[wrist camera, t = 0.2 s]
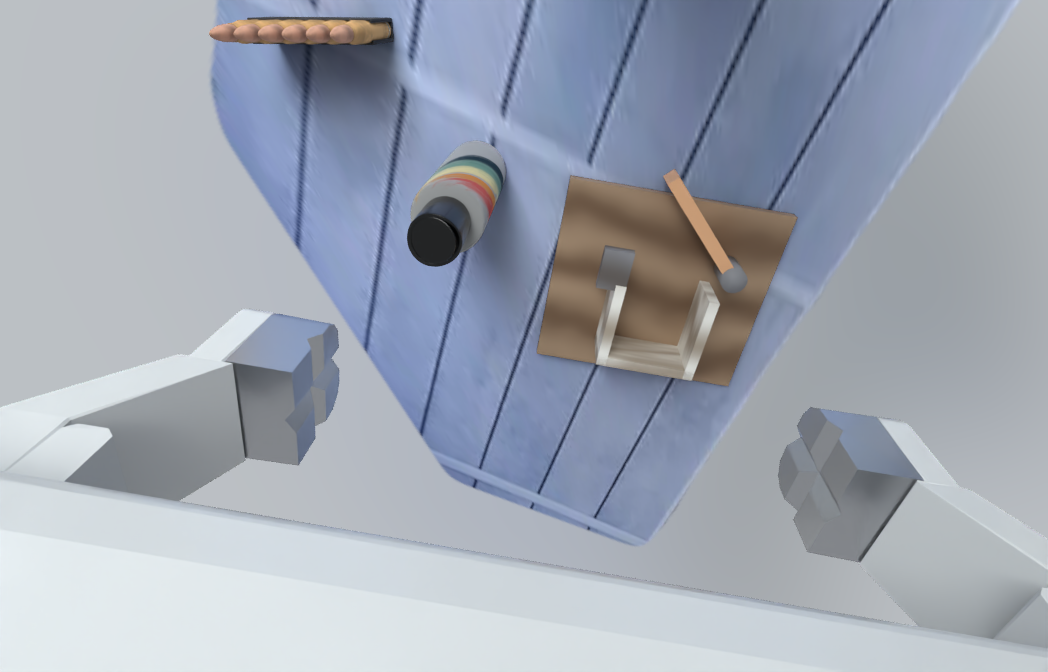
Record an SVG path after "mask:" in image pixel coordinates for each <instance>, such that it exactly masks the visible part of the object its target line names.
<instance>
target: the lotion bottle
mask: <svg viewBox="0 0 1048 672" xmlns="http://www.w3.org/2000/svg"><path fill="white" fill-rule="evenodd" d="M505 175H506V168H505V163H504V160H503V158H502V156H501V155H500V153H499V152H498V151H497V150H496V149H495V148H494V147H493V146H491V145H490V144H488V143H485V142H482V141H469V142H466V143H464V144H462V145H460V146H459V147H457V148H456V149H455V150H454V151H453V152H452V153H451V154H450V156H449V157H448V158H447V159H446V160H445V161H444V162H443V164H442V165H441V166H440V167H439V168H438V169H437V171H436V172H435V173H434V174H433V175H432V176H431V178H430V179H429V180H428V181H427V182H426V183H425V185H424V186H423V187H422V188H421V189H420V191H419V192H418V193H417V195H416V196H415V198H414V200H413V203H412V207H411V222H412V223H411V224H410V226H409V229H408V234H407V241H408V246H409V249H410V251H411V253H412V255H413V256H414V257H415V258H416V259H417V260H418V261H419V262H421V263H423V264H425V265H428V266H435V267H436V266H443V265H446V264H448V263H450V262H452V261H453V260H454V259H455V258H456V257H457V256H458V255H459V253H461V252H464V251H466V250H468V249H470V248H471V247H473V246H474V245H475V244H476V243H477V242H478V241H479V239H480V238H481V236H482V234H483V232H484V230H485V228H486V225H487V223H488V220H489V218H490V216H491V213H492V211H493V208H494V206H495V204H496V201H497V199H498V196H499V194H500V192H501V189H502V187H503V184H504V181H505Z"/></svg>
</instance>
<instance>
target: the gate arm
mask: <svg viewBox="0 0 1048 672" xmlns="http://www.w3.org/2000/svg"><path fill="white" fill-rule="evenodd" d="M663 177H664V179H665V181H666V183H667V185H668V186H669V188H670V190H671V191H672V193H673V194H674V196H675V198H676V199H677V201H678V203H679V204H680V206H681V208H682V209H683V211H684V213H685V214H686V216H687V217H688V219H689V221H690V222H691V224H692V226H693V227H694V229H695V231H696V232H697V234H698V235H699V237H700V239H701V240H702V242H703V244H704V245H705V247H706V249H707V250H708V252H709V254H710V255H711V257H712V258H713V260H714V262H715V265H714V272H715V274H716V276H717V278H718V280H719V282H720V284H721V286H722V288H723V289H724V290H725V291H726V292H728V293H737V292H740V291H741V290H743V289H744V288H745V286H746V285H747V281H748V279H747V275H746V274H745V272H744V271H743V269H742V268H741V266H740V264H739V263H738V261H737V260H736V259H735V258H734V257H731V256H727V255H726V254H725V252H724V250H723V249H722V247H721V245H720V244H719V242H718V240H717V238H716V237H715V235H714V233H713V232H712V230H711V228H710V227H709V225H708V223H707V222H706V220H705V218H704V217H703V215H702V213H701V212H700V210H699V208H698V207H697V205H696V203H695V202H694V200H693V198H692V197H691V195H690V193H689V192H688V190H687V188H686V187H685V185H684V183H683V182H682V180H681V178H680V177H679V175H678V173H677V172H676V170H675V169H673V170H672V171H670V172H669V173H667V174H666V175H664V176H663Z"/></svg>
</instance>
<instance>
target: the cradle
mask: <svg viewBox="0 0 1048 672" xmlns="http://www.w3.org/2000/svg"><path fill="white" fill-rule="evenodd" d="M691 197H692V196H691ZM692 198H693V200H694V202H695V203H696V205H697V207H698V208H699V210H700V212H701V213H702V215H703V217H704V218H705V220H706V222H707V223H708V225H709V227H710V228H711V230H712V232H713V233H714V235H715V237H716V238H717V240H718V242H719V244H720V245H721V247H722V249H723V250H724V252H725V254H726V255H727V256H731V257H734V258H735V259H736V260H737V261H738V263H739V264H740V266H741V268H742V269H743V271H744V272H745V274H746V275H747V279H748V281H747V285H746V286H745V288H744V289H743V290H741V291H740V292H737V293H728V292H726V291H725V290H724V289H723V288H722V286H721V284H720V282H719V280H718V278H717V276H716V274H715V272H714V265H715V262H714V260H713V258H712V257H711V255H710V254H709V252H708V250H707V249H706V247H705V245H704V244H703V242H702V240H701V239H700V237H699V235H698V234H697V232H696V231H695V229H694V227H693V226H692V224H691V222H690V221H689V219H688V217H687V216H686V214H685V213H684V211H683V209H682V208H681V206H680V204H679V203H678V201H677V199H676V198H675V196H674V194H673V193H669V192H663V191H658V190H652V189H646V188H640V187H635V186H629V185H623V184H617V183H612V182H606V181H600V180H594V179H589V178H583V177H577V176H570V181H569V186H568V191H567V196H566V202H565V207H564V212H563V217H562V222H561V228H560V233H559V238H558V243H557V248H556V254H555V259H554V264H553V269H552V274H551V279H550V285H549V290H548V295H547V300H546V305H545V311H544V316H543V321H542V326H541V331H540V337H539V342H538V347H537V354H543V355H549V356H555V357H561V358H567V359H572V360H578V361H584V362H590V363H596V365H602V366H608V367H613V368H619V369H625V370H631V371H637V372H643V373H648V374H654V375H660V376H666V377H672V378H678V379H683V380H689V381H692V380H695V381H700V382H706V383H712V384H718V385H724V386H728V385H729V382H730V380H731V378H732V375H733V373H734V370H735V368H736V365H737V363H738V361H739V358H740V356H741V353H742V351H743V348H744V346H745V344H746V341H747V339H748V336H749V334H750V332H751V329H752V327H753V324H754V322H755V319H756V317H757V315H758V312H759V310H760V307H761V305H762V302H763V300H764V298H765V295H766V293H767V290H768V288H769V286H770V283H771V281H772V278H773V276H774V273H775V271H776V269H777V266H778V264H779V261H780V259H781V256H782V254H783V252H784V249H785V247H786V244H787V242H788V240H789V237H790V235H791V232H792V230H793V227H794V225H795V223H796V220H797V218H798V217H796V216H795V215H794V214H790V213H784V212H778V211H772V210H767V209H761V208H755V207H749V206H744V205H738V204H732V203H726V202H721V201H715V200H709V199H704V198H698V197H692Z"/></svg>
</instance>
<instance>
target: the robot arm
mask: <svg viewBox="0 0 1048 672" xmlns="http://www.w3.org/2000/svg"><path fill="white" fill-rule="evenodd" d="M338 348H339V344H338V330H337V328H336V327H335V325H334V324H329V323H324V322H319V321H313V320H308V319H303V318H298V317H293V316H287V315H282V314H275V313H273V312H266V311H260V310H253V309H242V310H240V311H239V312H238V313H237V314H236V315H235V316H233V317H232V318H231V319H230V320H229V321H228V322H227V323H226V324H224V325H223V326H222V327H221V328H220V329H219V330H218V331H216V332H215V333H214V334H213V335H212V336H211V337H210V338H208V339H207V340H206V341H205V342H204V343H203V344H202V345H201V346H199V347H198V348H197V349H196V350H195V351H194V352H193V353H191V354H190V355H189V356H187V355H181V354H178V355H174V356H171V357H168V358H164V359H161V360H158V361H154V362H151V363H148V364H144V365H141V366H137V367H135V368H131V369H128V370H124V371H121V372H118V373H114V374H111V375H107V376H104V377H100V378H97V379H94V380H90V381H87V382H84V383H80V384H77V385H73V386H70V387H67V388H64V389H60V390H57V391H53V392H50V393H47V394H43V395H40V396H36V397H33V398H30V399H27V400H23V401H20V402H17V403H13V404H10V405H6V406H3V407H0V672H1048V539H1047V538H1046V537H1044V536H1043V535H1041V534H1040V533H1038V532H1036V531H1035V530H1033V529H1032V528H1030V527H1028V526H1027V525H1025V524H1024V523H1022V522H1020V521H1019V520H1017V519H1016V518H1014V517H1013V516H1010V515H1009V514H1008V513H1006V512H1004V511H1003V510H1002V509H1000V508H998V507H997V506H995V505H994V504H992V503H990V502H989V501H987V500H986V499H984V498H982V497H981V496H979V495H978V494H976V493H974V492H973V491H972V490H970V489H965V488H960V487H959V486H958V484H957V483H956V482H955V481H954V480H953V478H952V477H951V476H950V475H949V473H948V472H947V471H946V470H945V468H944V467H943V466H942V465H941V464H940V462H939V461H938V460H937V459H936V457H935V456H934V455H933V454H932V453H931V451H930V450H929V449H928V448H927V446H926V445H925V444H924V443H923V441H922V440H921V439H920V438H919V437H918V435H917V434H916V433H915V432H914V430H913V429H912V428H911V427H910V425H908V424H907V423H905V422H903V421H901V420H897V419H890V418H882V417H874V416H866V415H860V414H853V413H845V412H839V411H832V410H825V409H819V408H812V407H811V408H809V409H808V410H807V411H806V412H805V413H804V414H803V415H802V417H801V419H800V421H799V423H798V425H797V427H798V430H799V433H800V436H801V437H800V438H799V439H797V440H795V441H794V442H792V443H790V444H789V445H787V447H786V449H785V451H784V453H783V456H782V458H781V460H780V466H779V474H778V477H779V484H780V489H781V491H782V494H783V496H784V499H785V500H786V501H787V502H788V503H790V504H791V505H792V506H793V507H794V508H795V509H796V510H798V512H797V514H796V516H795V517H794V522H795V524H796V527H797V529H798V531H799V534H800V536H801V538H802V540H803V543H804V545H805V547H806V550H807V552H810V553H815V554H820V555H825V556H830V557H836V558H841V559H846V560H851V561H855V562H860V564H859V565H860V566H861V567H862V568H863V569H864V570H865V571H866V572H867V573H868V575H869V576H870V577H872V579H873V580H875V582H876V583H877V584H878V585H879V586H880V587H881V588H882V589H883V590H884V591H885V592H886V593H887V594H888V595H889V596H890V597H891V598H892V599H893V600H894V601H895V602H896V603H897V605H898V606H899V607H901V609H902V610H903V611H904V612H905V613H906V614H907V615H908V616H909V617H910V618H911V619H912V620H913V621H914V622H915V623H916V624H917V625H918V626H919V627H918V626H912V625H906V624H900V623H894V622H888V621H882V620H877V619H870V618H865V617H859V616H853V615H847V614H841V613H836V612H829V611H824V610H817V609H812V608H806V607H800V606H794V605H788V604H783V603H776V602H771V601H765V600H759V599H753V598H747V597H742V596H736V595H729V594H724V593H718V592H712V591H706V590H700V589H695V588H689V587H683V586H676V585H671V584H665V583H659V582H653V581H647V580H641V579H635V578H629V577H623V576H617V575H611V574H605V573H600V572H593V571H588V570H582V569H576V568H569V567H563V566H558V565H551V564H546V563H540V562H534V561H528V560H522V559H516V558H509V557H504V556H498V555H493V554H486V553H481V552H475V551H469V550H463V549H457V548H451V547H445V546H439V545H434V544H428V543H422V542H416V541H410V540H404V539H398V538H392V537H386V536H381V535H375V534H368V533H363V532H357V531H351V530H345V529H339V528H333V527H327V526H322V525H316V524H310V523H304V522H298V521H292V520H286V519H281V518H275V517H269V516H262V515H256V514H251V513H245V512H239V511H233V510H228V509H221V508H216V507H210V506H204V505H198V504H192V503H186V502H180V500H181V499H183V498H185V497H186V496H188V495H189V494H191V493H193V492H194V491H196V490H198V489H199V488H201V487H203V486H204V485H206V484H208V483H209V482H211V481H212V480H214V479H216V478H217V477H219V476H221V475H222V474H224V473H226V472H227V471H229V470H231V469H232V468H234V467H236V466H237V465H239V464H240V463H242V462H244V461H245V458H250V459H257V460H264V461H271V462H278V463H285V464H292V465H299V464H300V462H301V461H302V459H303V457H304V456H305V454H306V452H307V451H308V449H309V447H310V446H311V444H312V443H313V441H314V440H315V426H316V425H318V424H320V423H323V422H325V421H326V420H327V418H328V417H329V415H330V413H331V411H332V410H333V407H334V403H335V400H336V397H337V393H338V387H339V368H338V367H337V365H336V364H335V363H334V361H333V360H332V359H331V358H332V356H333V355H334V353H335V352H336V351H337V349H338Z"/></svg>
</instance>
